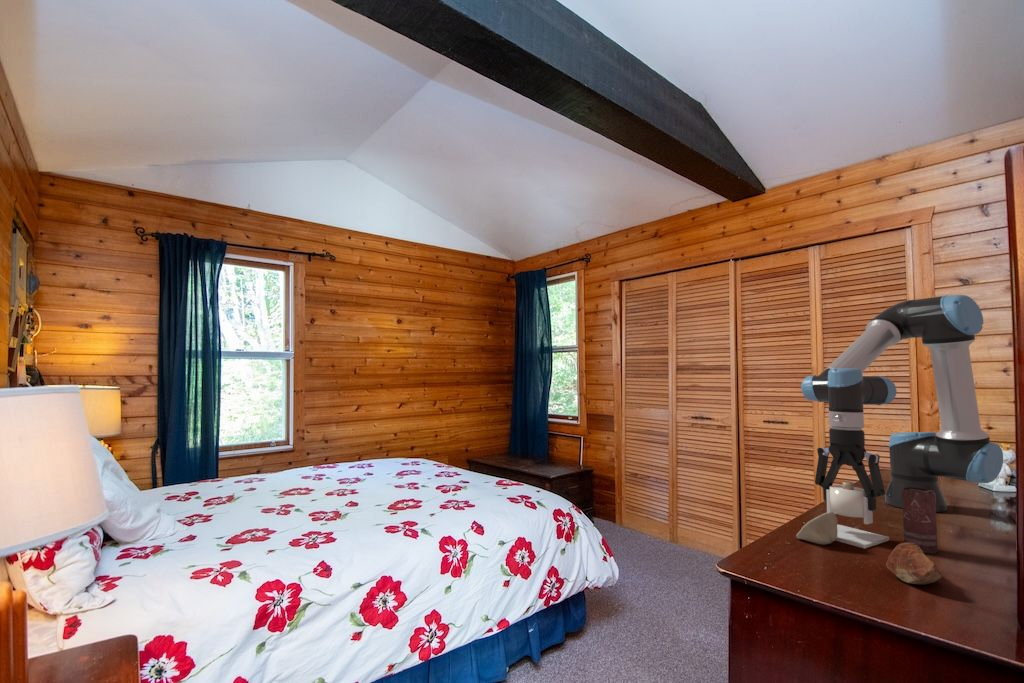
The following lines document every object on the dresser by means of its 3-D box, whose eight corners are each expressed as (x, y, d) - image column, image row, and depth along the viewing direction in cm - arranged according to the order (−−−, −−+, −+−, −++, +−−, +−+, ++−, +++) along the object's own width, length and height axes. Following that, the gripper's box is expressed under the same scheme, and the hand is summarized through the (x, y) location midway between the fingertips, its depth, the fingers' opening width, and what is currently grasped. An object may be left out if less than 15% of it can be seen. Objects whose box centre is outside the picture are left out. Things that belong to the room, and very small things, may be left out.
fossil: (888, 546, 109) (910, 516, 104) (933, 572, 104) (959, 542, 99) (874, 583, 101) (898, 552, 96) (922, 613, 96) (950, 582, 91)
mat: (837, 527, 134) (837, 524, 134) (889, 540, 124) (889, 537, 124) (812, 534, 128) (812, 531, 128) (864, 548, 118) (864, 545, 118)
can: (945, 555, 114) (942, 493, 114) (913, 553, 115) (911, 491, 116) (928, 546, 119) (926, 487, 120) (898, 544, 121) (896, 485, 122)
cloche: (840, 507, 132) (839, 478, 132) (874, 514, 125) (873, 483, 125) (823, 511, 128) (822, 481, 128) (858, 519, 121) (856, 487, 121)
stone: (797, 538, 128) (820, 507, 128) (824, 557, 124) (848, 525, 124) (793, 535, 120) (817, 501, 120) (822, 555, 116) (847, 520, 116)
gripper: (797, 425, 135) (799, 510, 133) (885, 433, 117) (889, 532, 115) (813, 424, 138) (815, 507, 137) (900, 431, 120) (904, 527, 119)
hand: (849, 518), depth 126 cm, fingers closed on cloche, 8 cm apart
